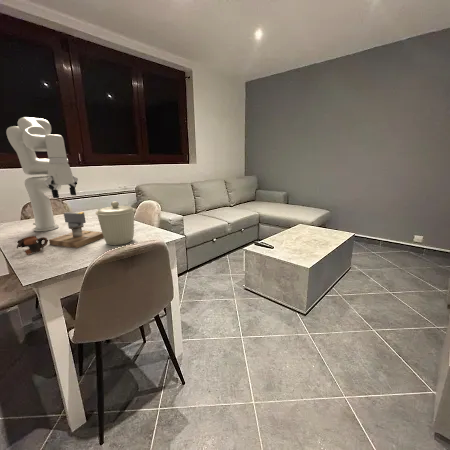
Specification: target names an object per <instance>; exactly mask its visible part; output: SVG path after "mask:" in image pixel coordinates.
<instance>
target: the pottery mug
mask: <svg viewBox="0 0 450 450" xmlns="http://www.w3.org/2000/svg"><path fill="white" fill-rule="evenodd" d="M16 243H17V245H16V249H19V248H27V247H28V249H26V250H24V253H26V256H29V255H31V254H35V253H40V252H42V250H43V249H44V247H45V246H47V244H48V243H49V239H48V238H47V237H44V236H41V237H39V238H37V236H36V235H30V236H26V237H23V238H21V239H18V241H16Z"/></svg>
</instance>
